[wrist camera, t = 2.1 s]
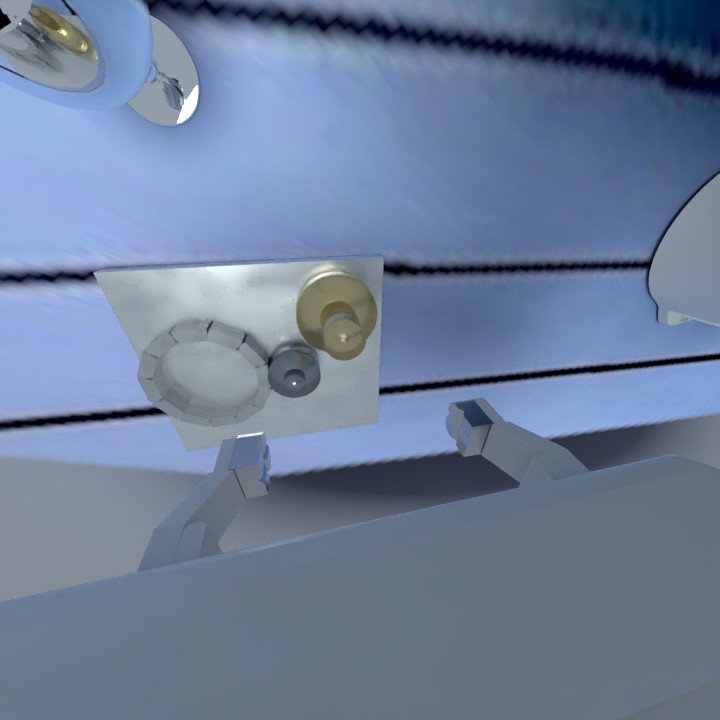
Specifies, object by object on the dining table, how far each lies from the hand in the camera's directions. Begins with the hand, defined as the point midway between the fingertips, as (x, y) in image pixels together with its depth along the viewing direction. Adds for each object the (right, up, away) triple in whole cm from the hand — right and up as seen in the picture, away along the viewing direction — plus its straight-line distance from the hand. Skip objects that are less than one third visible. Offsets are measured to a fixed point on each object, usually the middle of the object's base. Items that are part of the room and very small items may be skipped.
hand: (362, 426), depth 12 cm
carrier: (-8, +3, +14) cm, 16 cm away
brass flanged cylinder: (-2, +7, +11) cm, 13 cm away
